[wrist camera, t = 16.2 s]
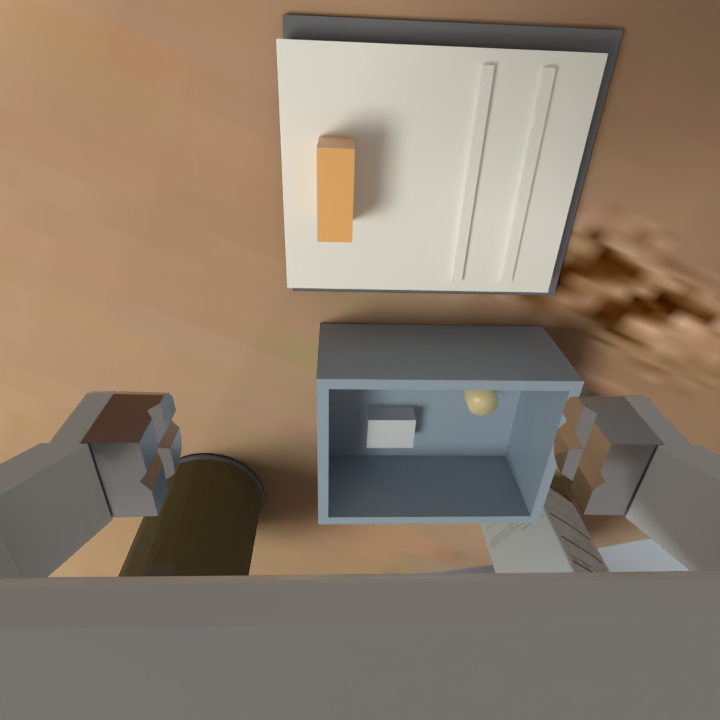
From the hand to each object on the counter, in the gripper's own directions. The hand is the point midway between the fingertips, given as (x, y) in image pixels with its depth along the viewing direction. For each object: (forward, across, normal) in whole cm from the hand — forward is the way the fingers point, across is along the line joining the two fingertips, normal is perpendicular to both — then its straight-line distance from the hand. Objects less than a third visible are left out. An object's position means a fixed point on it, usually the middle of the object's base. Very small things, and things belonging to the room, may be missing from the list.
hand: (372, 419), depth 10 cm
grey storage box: (+27, -7, +18) cm, 33 cm away
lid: (+25, -5, 0) cm, 26 cm away
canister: (+27, +13, +30) cm, 43 cm away
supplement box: (+27, -19, +32) cm, 46 cm away
